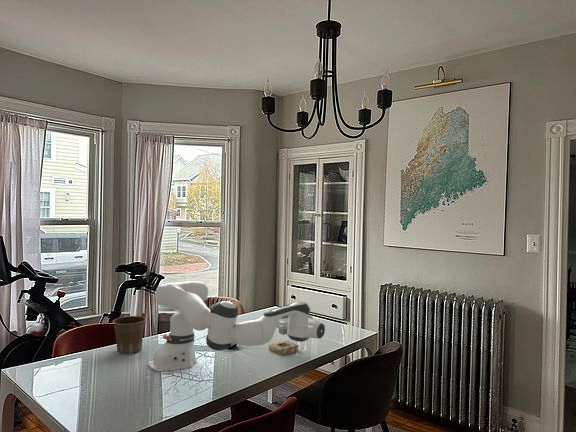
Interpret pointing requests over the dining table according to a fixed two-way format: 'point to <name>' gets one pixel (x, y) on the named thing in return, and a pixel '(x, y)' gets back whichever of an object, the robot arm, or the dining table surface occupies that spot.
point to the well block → (283, 347)
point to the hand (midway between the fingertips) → (283, 318)
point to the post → (283, 331)
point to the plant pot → (129, 333)
